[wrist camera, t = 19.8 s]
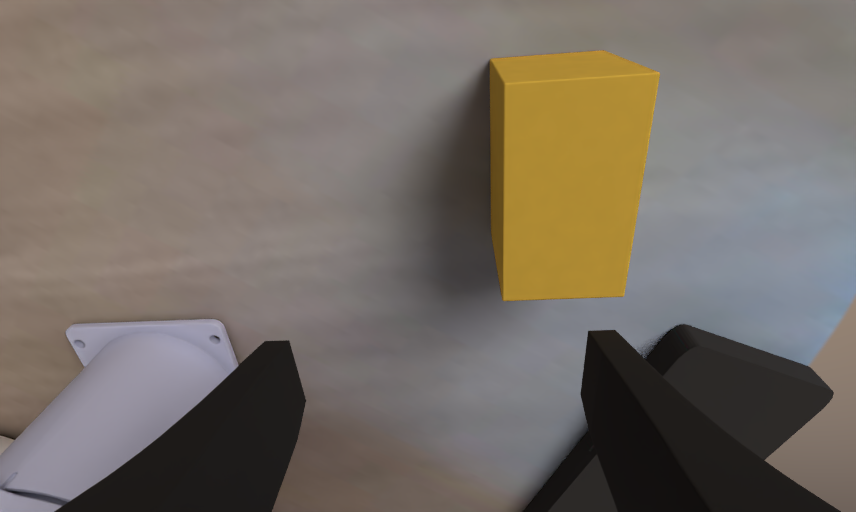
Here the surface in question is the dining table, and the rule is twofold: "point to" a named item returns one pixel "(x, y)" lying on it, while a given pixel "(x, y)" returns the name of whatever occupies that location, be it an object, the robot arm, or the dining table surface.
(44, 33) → the dining table surface
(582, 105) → the yellow block
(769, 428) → the smart home device
